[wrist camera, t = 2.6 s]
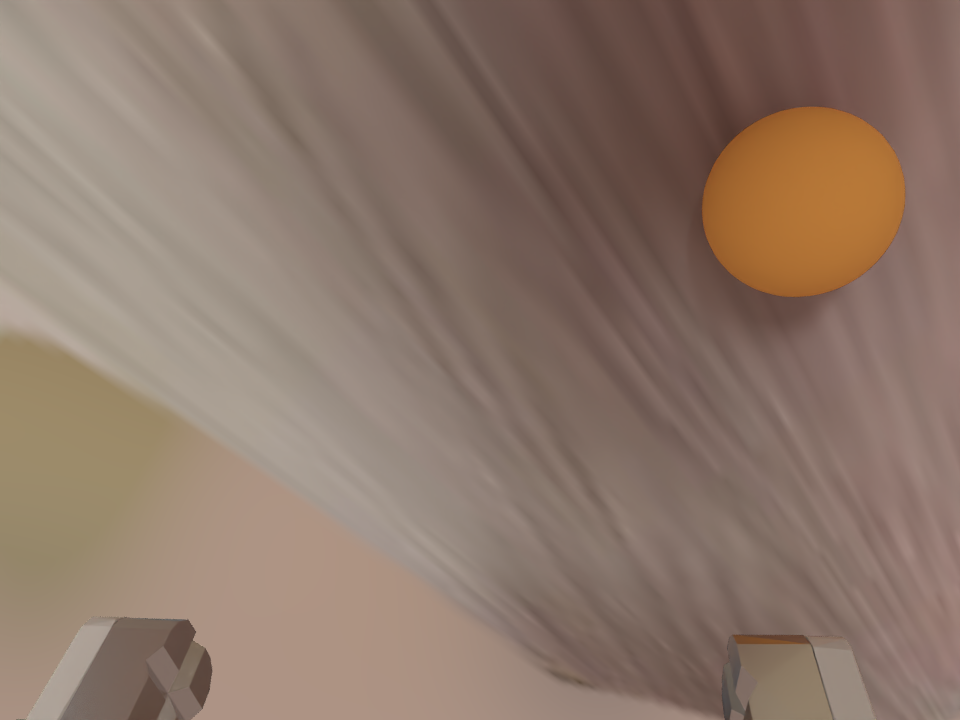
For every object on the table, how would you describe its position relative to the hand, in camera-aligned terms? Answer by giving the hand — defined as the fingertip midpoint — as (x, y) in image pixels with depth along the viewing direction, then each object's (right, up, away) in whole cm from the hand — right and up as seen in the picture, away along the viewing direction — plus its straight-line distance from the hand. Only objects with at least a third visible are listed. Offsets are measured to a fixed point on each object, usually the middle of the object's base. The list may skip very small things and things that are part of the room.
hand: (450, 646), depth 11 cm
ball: (+10, +9, +11) cm, 17 cm away
